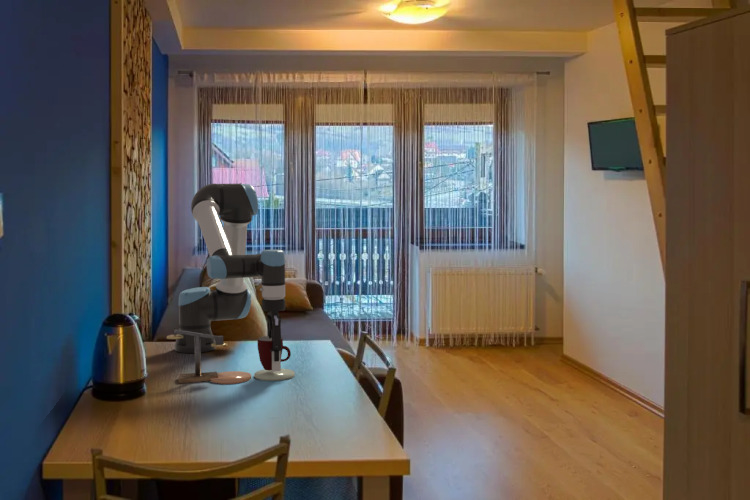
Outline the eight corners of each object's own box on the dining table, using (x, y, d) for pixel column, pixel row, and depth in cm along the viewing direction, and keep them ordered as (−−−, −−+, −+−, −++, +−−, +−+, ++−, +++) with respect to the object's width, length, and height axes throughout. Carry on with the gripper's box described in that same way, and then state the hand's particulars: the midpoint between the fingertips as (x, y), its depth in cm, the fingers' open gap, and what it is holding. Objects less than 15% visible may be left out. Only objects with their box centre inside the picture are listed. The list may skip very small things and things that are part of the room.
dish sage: (252, 372, 248) (252, 370, 248) (291, 370, 252) (291, 367, 252) (256, 382, 236) (256, 379, 236) (297, 379, 239) (297, 376, 239)
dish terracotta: (208, 375, 244) (208, 372, 244) (249, 373, 248) (249, 370, 248) (210, 385, 232) (210, 382, 232) (253, 382, 235) (253, 379, 235)
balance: (167, 379, 240) (166, 328, 238) (227, 375, 245) (226, 325, 243) (167, 384, 234) (166, 331, 233) (228, 379, 239) (227, 328, 238)
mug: (290, 365, 248) (290, 335, 247) (291, 371, 240) (290, 340, 239) (258, 366, 247) (257, 336, 246) (257, 372, 239) (257, 341, 238)
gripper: (257, 294, 251) (258, 362, 253) (265, 302, 231) (266, 376, 233) (280, 293, 253) (281, 360, 255) (290, 301, 233) (291, 374, 235)
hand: (274, 367), depth 244 cm, fingers closed on mug, 8 cm apart
